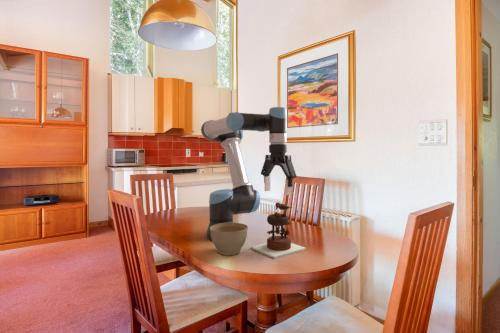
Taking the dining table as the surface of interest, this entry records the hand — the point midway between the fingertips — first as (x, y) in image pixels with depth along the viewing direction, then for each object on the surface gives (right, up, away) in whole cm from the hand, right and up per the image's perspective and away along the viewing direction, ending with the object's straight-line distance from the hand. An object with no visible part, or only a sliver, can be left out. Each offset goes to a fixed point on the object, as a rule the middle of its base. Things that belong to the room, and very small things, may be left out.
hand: (277, 192), depth 130 cm
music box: (0, -24, +1) cm, 24 cm away
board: (0, -25, +1) cm, 25 cm away
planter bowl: (-21, -25, -2) cm, 33 cm away
